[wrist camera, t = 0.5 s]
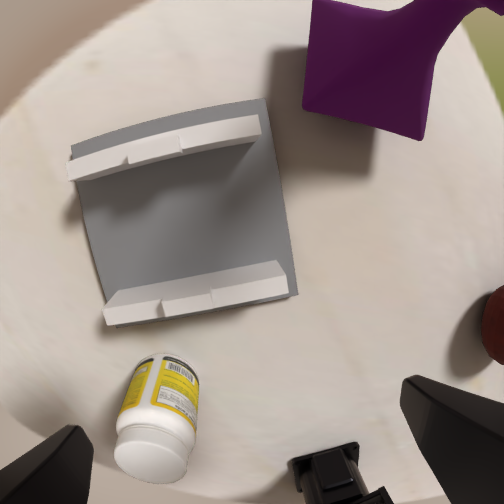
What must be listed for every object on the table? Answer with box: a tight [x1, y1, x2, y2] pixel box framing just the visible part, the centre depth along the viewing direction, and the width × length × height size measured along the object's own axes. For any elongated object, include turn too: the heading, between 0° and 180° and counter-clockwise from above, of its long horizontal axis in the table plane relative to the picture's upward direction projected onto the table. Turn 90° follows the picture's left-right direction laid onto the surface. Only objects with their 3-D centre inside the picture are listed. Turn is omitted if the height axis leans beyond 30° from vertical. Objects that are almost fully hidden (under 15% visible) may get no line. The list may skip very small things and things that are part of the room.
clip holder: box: [65, 98, 298, 328], centre depth 16 cm, size 12×12×5 cm
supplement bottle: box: [114, 354, 199, 484], centre depth 17 cm, size 5×5×8 cm
